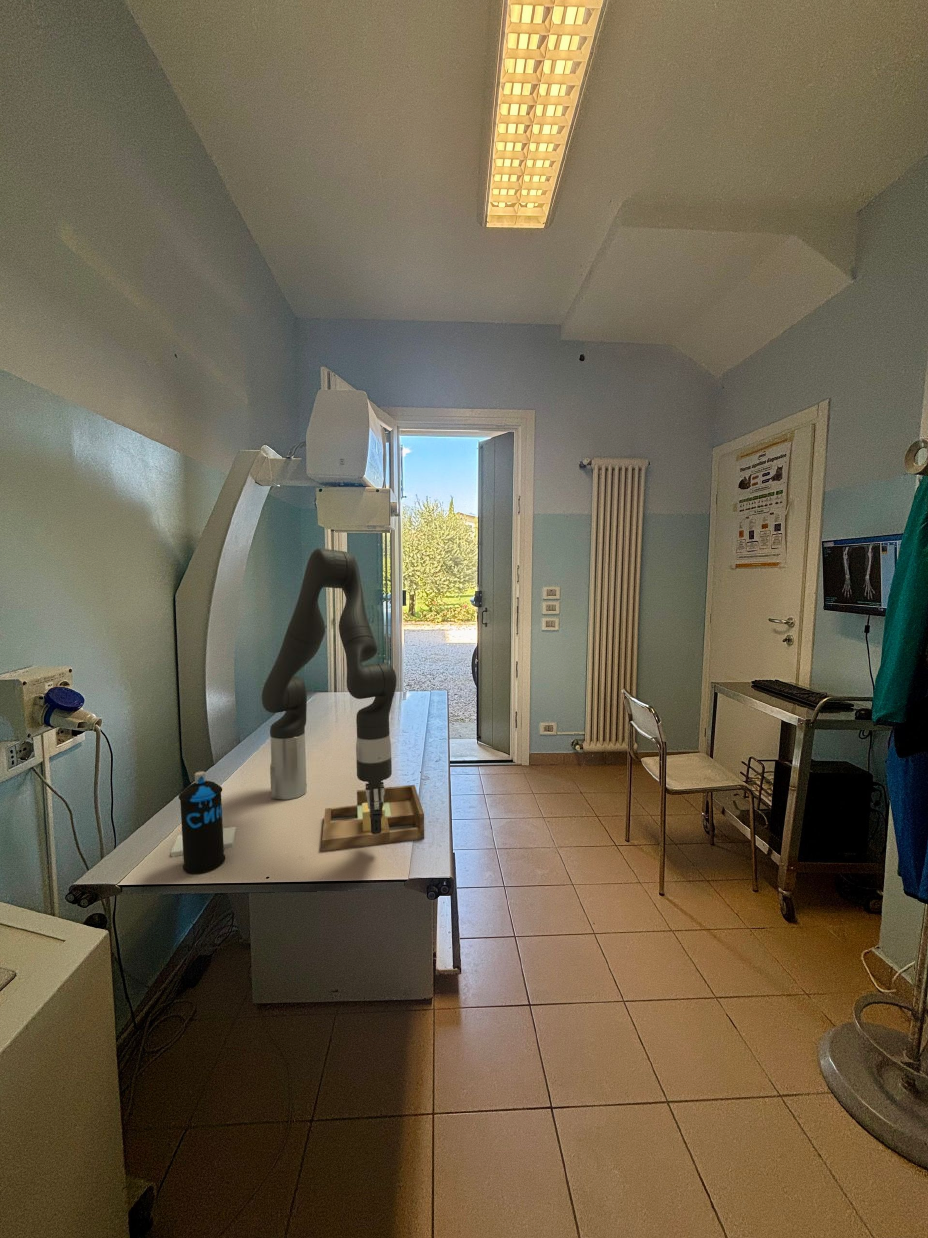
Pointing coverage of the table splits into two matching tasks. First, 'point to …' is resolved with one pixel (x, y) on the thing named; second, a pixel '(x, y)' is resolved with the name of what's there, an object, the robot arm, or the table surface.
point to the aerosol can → (202, 826)
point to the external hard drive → (227, 841)
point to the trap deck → (399, 821)
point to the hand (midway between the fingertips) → (376, 832)
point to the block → (368, 820)
